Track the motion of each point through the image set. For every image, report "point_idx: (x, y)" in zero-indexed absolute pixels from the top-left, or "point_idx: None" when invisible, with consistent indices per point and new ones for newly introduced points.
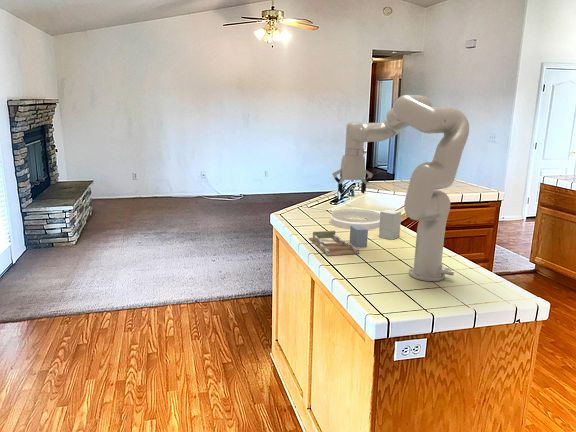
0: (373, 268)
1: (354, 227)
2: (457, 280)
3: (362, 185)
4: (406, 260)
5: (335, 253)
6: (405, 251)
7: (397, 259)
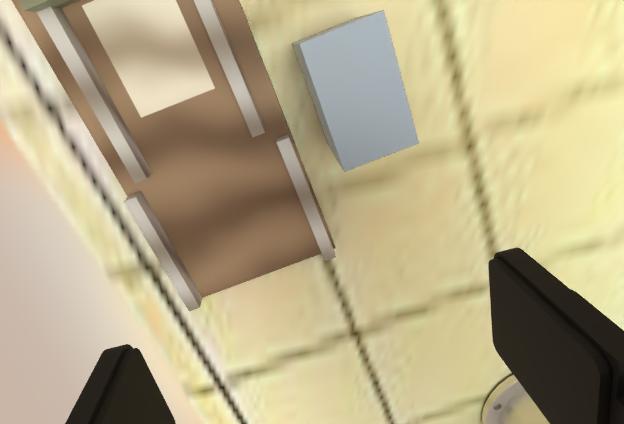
0: (374, 384)
1: (328, 100)
2: None
3: (573, 411)
4: None
5: (224, 271)
6: (563, 161)
7: None
